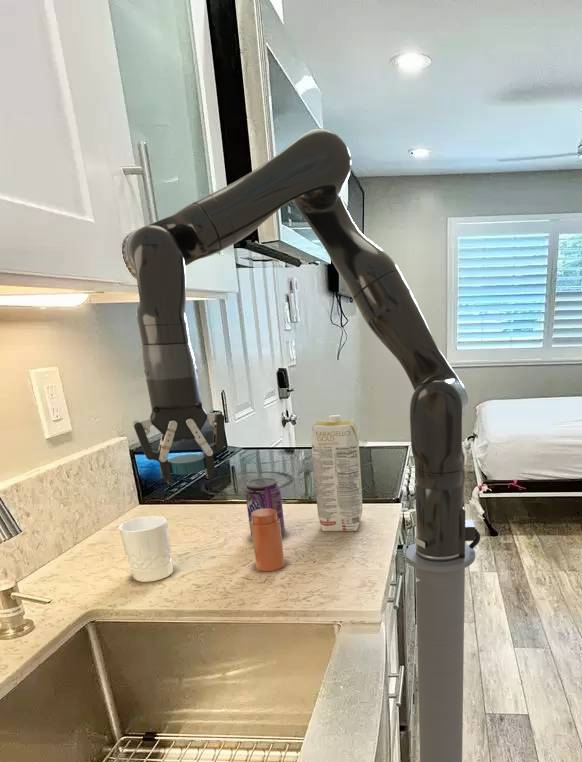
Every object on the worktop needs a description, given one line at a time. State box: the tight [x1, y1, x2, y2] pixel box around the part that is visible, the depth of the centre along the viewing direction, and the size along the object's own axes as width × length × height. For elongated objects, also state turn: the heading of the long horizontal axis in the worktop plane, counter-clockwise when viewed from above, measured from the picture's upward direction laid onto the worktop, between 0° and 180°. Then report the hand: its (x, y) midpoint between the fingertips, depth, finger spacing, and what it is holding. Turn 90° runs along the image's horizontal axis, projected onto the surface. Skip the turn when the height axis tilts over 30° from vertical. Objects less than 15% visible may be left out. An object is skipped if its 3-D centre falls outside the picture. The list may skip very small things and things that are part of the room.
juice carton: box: [311, 414, 363, 532], centre depth 120 cm, size 9×8×24 cm
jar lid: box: [168, 453, 206, 476], centre depth 93 cm, size 6×6×2 cm
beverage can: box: [244, 477, 286, 537], centre depth 119 cm, size 7×7×12 cm
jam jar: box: [249, 508, 286, 572], centre depth 105 cm, size 5×5×11 cm
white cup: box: [118, 515, 174, 583], centre depth 103 cm, size 8×8×10 cm
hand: (189, 479), depth 94 cm, fingers closed on jar lid, 5 cm apart
